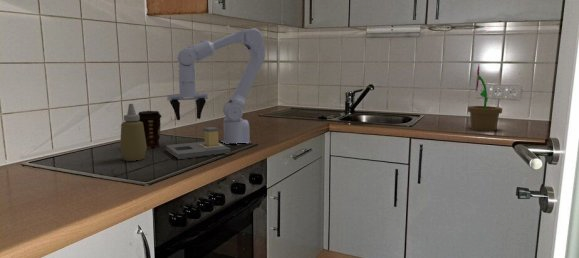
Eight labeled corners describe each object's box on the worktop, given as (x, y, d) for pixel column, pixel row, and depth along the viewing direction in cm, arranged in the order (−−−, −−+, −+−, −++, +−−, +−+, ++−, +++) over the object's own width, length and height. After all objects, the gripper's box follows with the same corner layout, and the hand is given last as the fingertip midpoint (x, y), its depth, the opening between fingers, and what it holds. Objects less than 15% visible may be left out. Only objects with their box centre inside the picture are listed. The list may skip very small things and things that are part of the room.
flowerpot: (467, 126, 203) (471, 63, 198) (500, 128, 197) (505, 64, 192) (465, 130, 190) (470, 64, 186) (500, 133, 184) (506, 64, 179)
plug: (214, 149, 150) (213, 126, 149) (219, 151, 147) (218, 128, 146) (204, 150, 148) (203, 127, 147) (209, 152, 145) (208, 129, 144)
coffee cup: (155, 143, 160) (153, 109, 158) (167, 146, 155) (166, 111, 153) (134, 147, 154) (132, 111, 152) (146, 150, 149) (144, 113, 146)
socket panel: (214, 145, 156) (214, 139, 156) (230, 154, 143) (230, 147, 142) (165, 150, 147) (165, 144, 147) (178, 160, 134) (177, 153, 133)
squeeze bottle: (150, 156, 139) (147, 102, 136) (143, 162, 131) (139, 105, 128) (126, 156, 139) (122, 102, 136) (116, 162, 131) (113, 105, 128)
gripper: (202, 81, 160) (204, 116, 162) (164, 82, 153) (166, 119, 155) (209, 82, 154) (210, 118, 156) (169, 83, 147) (171, 121, 149)
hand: (188, 119), depth 155 cm, fingers open, 7 cm apart
